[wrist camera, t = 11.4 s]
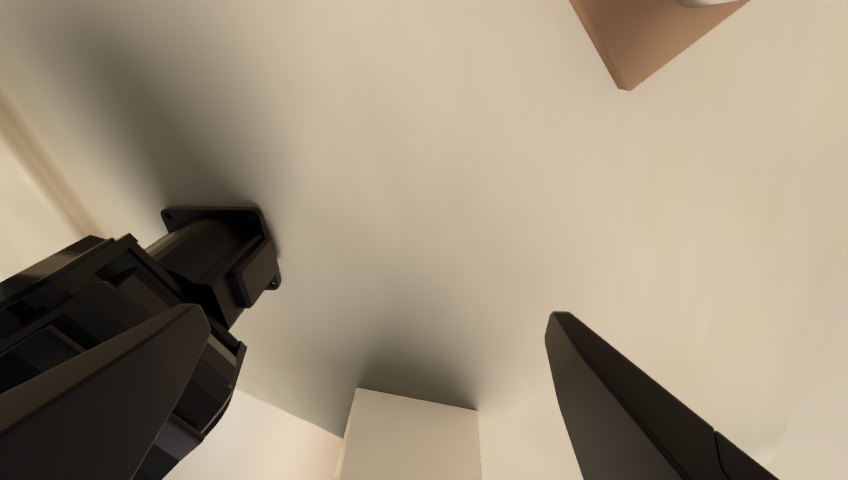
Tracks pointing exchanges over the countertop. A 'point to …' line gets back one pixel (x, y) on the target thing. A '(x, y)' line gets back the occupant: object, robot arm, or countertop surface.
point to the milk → (408, 440)
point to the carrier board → (647, 31)
